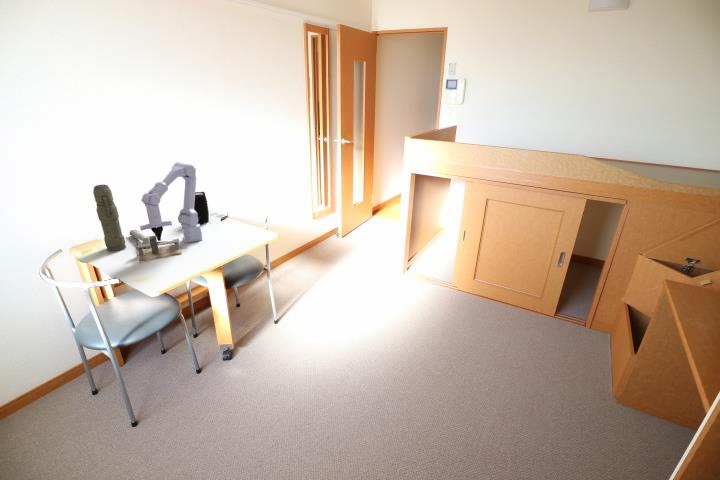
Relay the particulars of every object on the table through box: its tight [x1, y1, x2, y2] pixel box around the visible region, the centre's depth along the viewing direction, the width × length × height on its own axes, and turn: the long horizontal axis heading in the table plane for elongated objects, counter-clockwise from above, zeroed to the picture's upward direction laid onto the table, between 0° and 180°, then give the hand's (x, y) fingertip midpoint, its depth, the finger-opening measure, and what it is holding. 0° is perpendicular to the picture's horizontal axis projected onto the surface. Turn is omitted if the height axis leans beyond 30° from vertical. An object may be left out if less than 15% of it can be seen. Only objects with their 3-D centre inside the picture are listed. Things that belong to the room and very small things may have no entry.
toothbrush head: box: [129, 229, 151, 249], centre depth 206 cm, size 5×7×25 cm
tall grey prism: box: [149, 234, 159, 254], centre depth 191 cm, size 3×7×7 cm, turn 30°
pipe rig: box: [135, 238, 183, 262], centre depth 193 cm, size 20×12×7 cm, turn 120°
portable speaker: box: [194, 191, 210, 224], centre depth 234 cm, size 9×9×20 cm
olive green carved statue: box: [92, 184, 127, 253], centre depth 190 cm, size 9×12×35 cm
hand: (159, 240), depth 192 cm, fingers closed
